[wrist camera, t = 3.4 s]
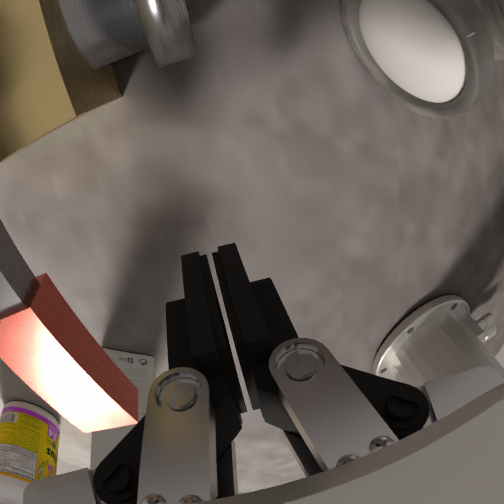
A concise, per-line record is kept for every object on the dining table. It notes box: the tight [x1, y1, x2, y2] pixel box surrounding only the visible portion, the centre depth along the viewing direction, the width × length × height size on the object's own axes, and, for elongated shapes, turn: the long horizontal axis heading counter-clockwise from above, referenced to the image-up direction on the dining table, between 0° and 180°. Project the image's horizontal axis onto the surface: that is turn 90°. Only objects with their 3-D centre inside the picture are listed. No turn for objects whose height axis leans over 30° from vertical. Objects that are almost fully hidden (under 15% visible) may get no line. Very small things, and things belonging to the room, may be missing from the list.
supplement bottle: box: [0, 401, 60, 504], centre depth 19 cm, size 7×7×13 cm
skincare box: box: [90, 348, 155, 470], centre depth 18 cm, size 6×4×12 cm
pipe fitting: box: [340, 0, 504, 119], centre depth 10 cm, size 12×8×10 cm
